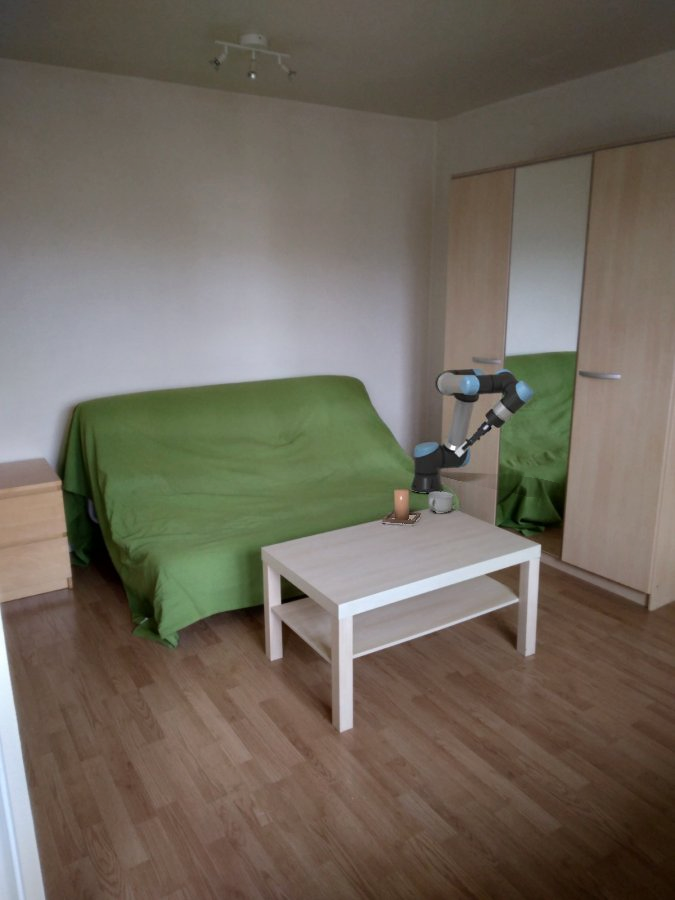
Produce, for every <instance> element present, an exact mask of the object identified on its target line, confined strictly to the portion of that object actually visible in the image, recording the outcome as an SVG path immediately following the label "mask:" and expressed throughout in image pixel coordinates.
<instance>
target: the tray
mask: <svg viewBox="0 0 675 900" xmlns="http://www.w3.org/2000/svg"><path fill="white" fill-rule="evenodd" d="M409 515H416V516H415V517H414V518H413V519H412V520H411V519H409V520H396V519H392V518H395V510H390V511H389V512H388V513H387V514H386V515H384V517H383V518H382V519H381V520H382V521H381V523H382V522H390V523H402V524H403V523H404V524H414V523H415V522H416V520H417V519H418V518H419V517H420V515H421V516H422V514H421V512H412V511H411V512H410V511H409Z"/></svg>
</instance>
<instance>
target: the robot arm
mask: <svg viewBox="0 0 675 900" xmlns="http://www.w3.org/2000/svg"><path fill="white" fill-rule="evenodd" d="M434 388H435V390H436V391H437V392H438V393H439V394H440V395H444V396H449V397H454V399H455V402H454V406H453V410H452V415H451V421H450V425H449V431H448V436H447V437H446V438H444V440H443V444H439V443H438V442H436V441H431V442H429V441H428V442H422V443H419V444H417V445H416V446H414V451H413V452H414V453H413V457H414V459H413V460H414V463H413V464H414V468H413V469H414V476H413V479H412V482H411V486H410V490H411V489H412V490H414V491H417V492H426V493H430V492H437V491H440V490H441V489H442V490H443V485H442V482H441V479H440V476H439V469H440V470H441V469H459V468H462V467H463V468H464V467H466V466H467V465H468V464H469V462H470V459H471V449H470V447H472V446H473V445H474V444H475V443H476V442H477V441H480V440H481V437H482V436H485V435H486V434H487V433H489V432H490V431H491V430H492V428H493V427H492V426H494V428H497V429H500V428H501V427H502V426H503V425H504V424H505V422H507V421H508V420H509V419H513V417H514V416H513V415H514V414H516V413H517V411H519V410H520V409H521V408H522V407H523V406H524V405H525V404H527V403H528V402H529V401H530V400H531V399H532V398H533V397H534V395H535V391H534V389H533V388H531V386H530V385H529V384H528V383H526V382H525V381H524V380H520V381H518V379H517V378H516V376H515V375H514V374H513V373H512V372H511V370H509V369H507V368H501V369H499V370H497V371H496V372H495V373H494V374H492V373H491V374H485V373H484V372H483V370H481V369H480V368H467V369H466V368H465V369H449V370H448V369H447V370H445V371H442V372H441V373H439V374H438V375H437V376H436V377H435V380H434ZM491 394H493V395H494V394H502V395H503V396H502V398H501V399H499V400H498V401H497V402H496V404H494V405H493V406H492V408H490V409H489V410H488V411H487V412H486V413H485V419H487V421H486V420H485V421H483V422H482V423H481V424H480V426H479V427H478V428H477V430H476V431H475V432H474V433H473V434H472V435H471V436H469V438H468V437H467V435H468V431H469V428H470V423H471V419H472V415H473V411H474V405H475V403H477V402H478V401H479V398H480V396H481V395H491Z"/></svg>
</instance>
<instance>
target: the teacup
mask: <svg viewBox="0 0 675 900" xmlns="http://www.w3.org/2000/svg"><path fill="white" fill-rule="evenodd" d="M427 496H428V501H427V502H428V508H429V509H430V510H431V511H432V510H433V511H438V512H447V511H449V512H450V511H452V508H453V505H454V494H453V493H451V492H448V491H447V492H446V491H441V492H440V491H439V492H430V493H429V494H427ZM433 511H432V512H433ZM447 513H448V512H447Z"/></svg>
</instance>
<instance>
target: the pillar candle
mask: <svg viewBox="0 0 675 900" xmlns="http://www.w3.org/2000/svg"><path fill="white" fill-rule="evenodd" d="M409 490H410V489H407V488H396V489H394V490H393V491H394V492H393V494H394V496H393V497H394V498H393V499H394V511H395V519H396V520H408V519H409V512H410V491H409Z"/></svg>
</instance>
